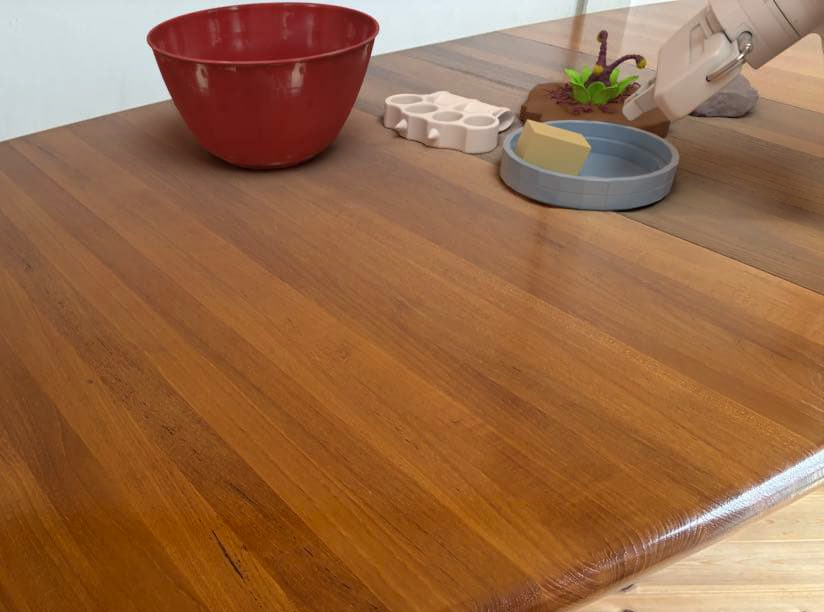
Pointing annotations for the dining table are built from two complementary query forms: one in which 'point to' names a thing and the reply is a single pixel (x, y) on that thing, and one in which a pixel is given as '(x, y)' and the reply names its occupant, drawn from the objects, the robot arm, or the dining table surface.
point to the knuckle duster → (447, 121)
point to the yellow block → (552, 148)
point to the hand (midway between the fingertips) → (625, 112)
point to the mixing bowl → (265, 77)
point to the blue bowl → (598, 169)
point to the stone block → (730, 100)
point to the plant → (593, 96)
